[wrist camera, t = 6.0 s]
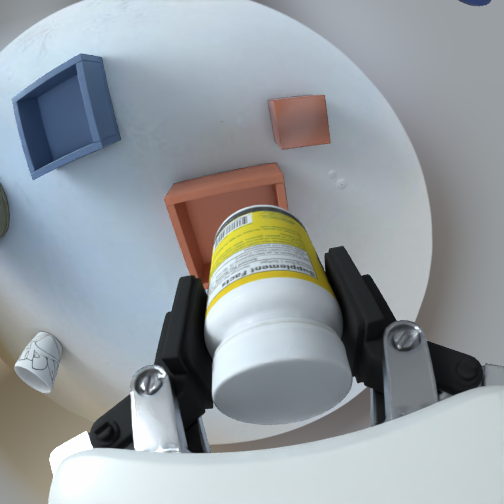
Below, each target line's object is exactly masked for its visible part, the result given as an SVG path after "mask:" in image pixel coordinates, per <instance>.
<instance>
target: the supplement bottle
mask: <svg viewBox="0 0 504 504" xmlns="http://www.w3.org/2000/svg"><path fill="white" fill-rule="evenodd" d="M342 332H343V316H342V312H341V308H340V306H339V303H338V300H337V298H336V296H335V294H334V291H333V289H332V287H331V284H330V282H329V280H328V278H327V276H326V273H325V271H324V268H323V266H322V264H321V262H320V260H319V258H318V255H317V253H316V251H315V249H314V247H313V245H312V242H311V240H310V238H309V236H308V234H307V232H306V230H305V228H304V226H303V225H302V223H301V222H300V221H299V219H298V218H297V217H296V216H294V215H293V214H292V213H290V212H289V211H287V210H285V209H283V208H280V207H277V206H273V205H253V206H249V207H245V208H243V209H240V210H238V211H236V212H235V213H233V214H232V215H230V216H229V217H228V218H227V219H226V220H225V221H224V222H223V223H222V225H221V226H220V228H219V230H218V232H217V234H216V237H215V240H214V245H213V254H212V262H211V270H210V278H209V287H208V295H207V303H206V311H205V320H204V339H205V344H206V347H207V350H208V352H209V354H210V356H211V357H212V359H213V363H212V398H213V402H214V404H215V406H216V407H217V408H218V409H219V410H220V411H221V412H222V413H223V414H225V415H227V416H228V417H231V418H233V419H236V420H238V421H242V422H246V423H252V424H260V425H277V424H288V423H294V422H298V421H303V420H306V419H309V418H312V417H315V416H317V415H320V414H322V413H324V412H326V411H328V410H330V409H331V408H333V407H334V406H336V405H337V404H338V403H340V402H341V401H342V400H343V399H344V398H345V397H346V395H347V394H348V393H349V391H350V389H351V386H352V379H353V378H352V373H351V369H350V366H349V363H348V359H347V355H346V349H345V346H344V344H343V342H342V341H341V337H342Z"/></svg>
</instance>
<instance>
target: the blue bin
mask: <svg viewBox="0 0 504 504" xmlns="http://www.w3.org/2000/svg"><path fill="white" fill-rule="evenodd" d="M12 104H13V109H14V114H15V119H16V123H17V127H18V132H19V136H20V139H21V143H22V147H23V150H24V154H25V157H26V160H27V164H28V167H29V170H30V173H31V176H32V179H33V180H34V179H36V178H38V177H40V176H42V175H44V174H46V173H48V172H50V171H52V170H54V169H56V168H58V167H60V166H62V165H64V164H67V163H69V162H71V161H73V160H76V159H78V158H80V157H82V156H85V155H87V154H90V153H92V152H94V151H97V150H99V149H102V148H104V147H106V146H108V145H110V144H113V143H115V142H117V141H119V140H121V138H120V135H119V131H118V127H117V124H116V120H115V116H114V112H113V108H112V104H111V99H110V95H109V91H108V86H107V82H106V77H105V72H104V67H103V62H102V57H98V56H93V55H87V54H79V55H77V56H75V57H74V58H72V59H70V60H68V61H67V62H65V63H63V64H61V65H60V66H58V67H56V68H55V69H53V70H52V71H50V72H49V73H47V74H45V75H44V76H42V77H41V78H39V79H38V80H36V81H35V82H34V83H32V84H31V85H29V86H28V87H27V88H25V89H24V90H23V91H21V92H20V93H19V94H17V95H16V96H15V97H13V98H12Z"/></svg>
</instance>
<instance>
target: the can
mask: <svg viewBox="0 0 504 504" xmlns="http://www.w3.org/2000/svg"><path fill="white" fill-rule="evenodd" d="M8 226H9V207H8V202H7V199H6V196H5V193H4V191H3V188H2V186H1V185H0V238H2V237H3V236H4V235H5V233H6V232H7V229H8Z"/></svg>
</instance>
